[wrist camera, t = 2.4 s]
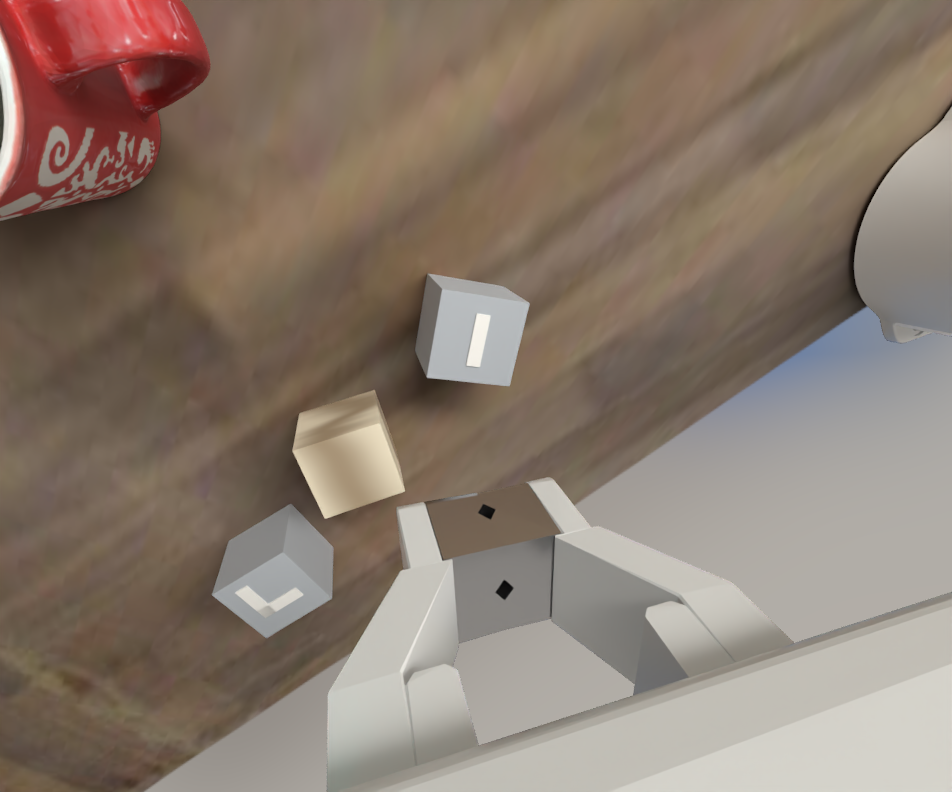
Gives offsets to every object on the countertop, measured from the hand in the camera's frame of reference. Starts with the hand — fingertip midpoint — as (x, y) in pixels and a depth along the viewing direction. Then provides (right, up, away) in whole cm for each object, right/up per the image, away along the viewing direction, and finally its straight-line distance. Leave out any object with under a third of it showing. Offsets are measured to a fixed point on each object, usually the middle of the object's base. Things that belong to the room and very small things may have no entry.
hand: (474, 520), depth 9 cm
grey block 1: (-14, -8, +25) cm, 30 cm away
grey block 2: (-1, +7, +22) cm, 23 cm away
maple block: (-8, 0, +23) cm, 25 cm away
